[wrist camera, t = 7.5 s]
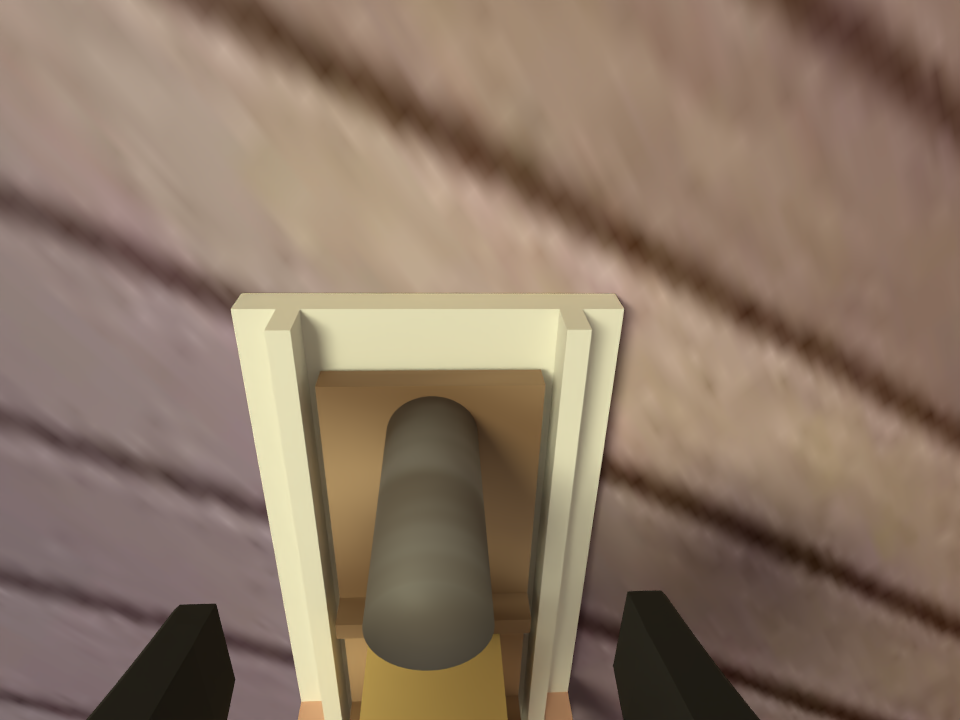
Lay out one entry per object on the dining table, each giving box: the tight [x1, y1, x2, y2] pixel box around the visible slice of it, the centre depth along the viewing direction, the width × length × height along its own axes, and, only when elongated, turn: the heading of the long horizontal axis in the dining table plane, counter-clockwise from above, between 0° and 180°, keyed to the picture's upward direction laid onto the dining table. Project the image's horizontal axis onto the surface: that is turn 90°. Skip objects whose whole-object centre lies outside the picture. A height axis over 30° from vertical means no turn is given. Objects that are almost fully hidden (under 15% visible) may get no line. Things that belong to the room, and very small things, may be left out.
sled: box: [315, 370, 545, 720], centre depth 18 cm, size 16×6×7 cm, turn 179°
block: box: [360, 634, 508, 720], centre depth 20 cm, size 4×4×4 cm
